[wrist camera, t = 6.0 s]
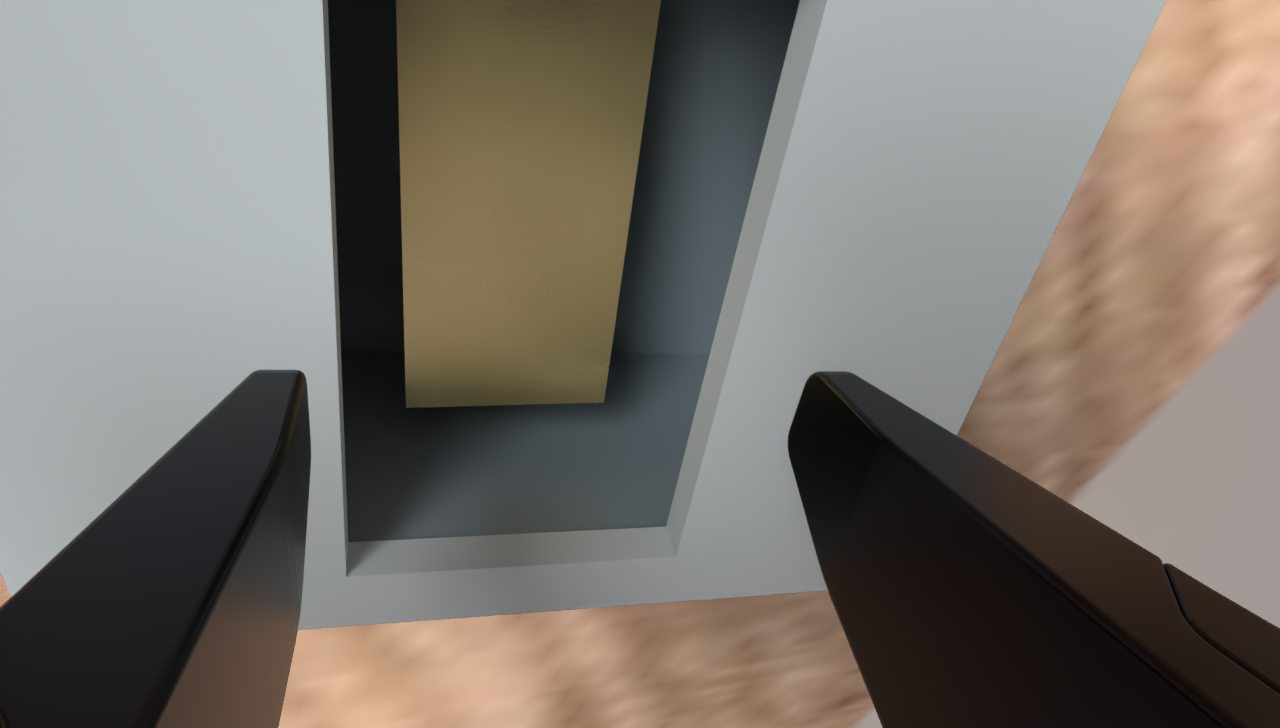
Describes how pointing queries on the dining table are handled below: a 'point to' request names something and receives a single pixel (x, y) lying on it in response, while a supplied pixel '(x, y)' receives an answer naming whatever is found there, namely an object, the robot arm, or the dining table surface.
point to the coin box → (648, 300)
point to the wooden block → (517, 192)
